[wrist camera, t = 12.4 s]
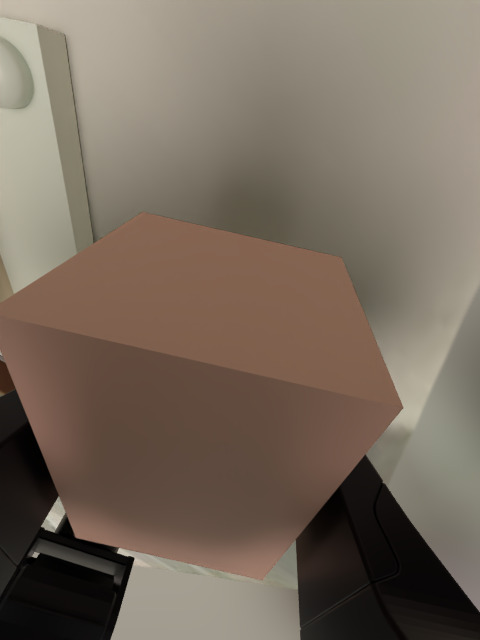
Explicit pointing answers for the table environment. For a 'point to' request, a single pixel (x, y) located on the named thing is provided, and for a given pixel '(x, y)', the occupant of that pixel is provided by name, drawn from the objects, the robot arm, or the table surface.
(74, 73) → the table surface
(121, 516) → the terracotta brick
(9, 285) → the birch brick
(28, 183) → the build plate
